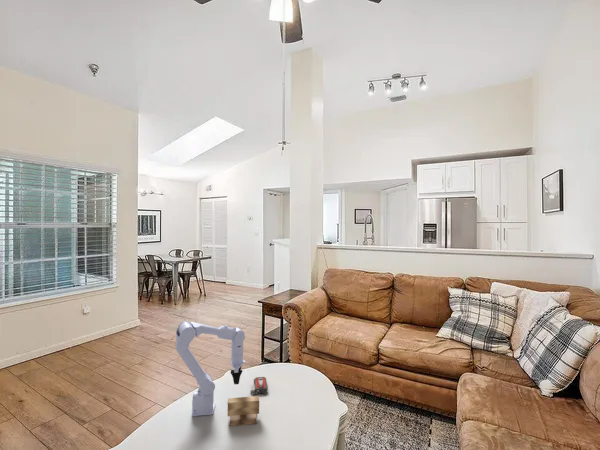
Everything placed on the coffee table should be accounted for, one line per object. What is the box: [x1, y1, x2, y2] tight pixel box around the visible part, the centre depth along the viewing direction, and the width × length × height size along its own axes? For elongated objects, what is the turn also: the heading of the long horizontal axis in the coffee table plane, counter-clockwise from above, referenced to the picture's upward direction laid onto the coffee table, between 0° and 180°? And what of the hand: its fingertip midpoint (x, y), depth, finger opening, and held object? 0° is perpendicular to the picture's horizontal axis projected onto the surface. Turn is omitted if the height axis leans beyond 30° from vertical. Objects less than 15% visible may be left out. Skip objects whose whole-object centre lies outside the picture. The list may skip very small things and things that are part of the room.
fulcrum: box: [228, 414, 258, 427], centre depth 132 cm, size 12×8×3 cm, turn 99°
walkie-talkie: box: [250, 376, 268, 397], centre depth 154 cm, size 9×4×20 cm
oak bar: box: [227, 395, 260, 417], centre depth 132 cm, size 14×4×6 cm, turn 99°
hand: (237, 379), depth 146 cm, fingers open, 7 cm apart
